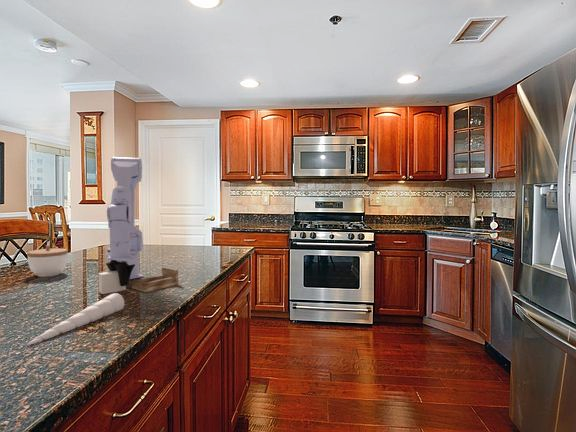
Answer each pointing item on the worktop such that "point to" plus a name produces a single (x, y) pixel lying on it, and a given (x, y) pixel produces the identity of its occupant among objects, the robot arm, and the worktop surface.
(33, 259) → the lidded bowl
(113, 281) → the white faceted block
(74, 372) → the worktop surface
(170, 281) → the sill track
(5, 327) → the worktop surface
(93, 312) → the unicorn horn
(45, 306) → the worktop surface
